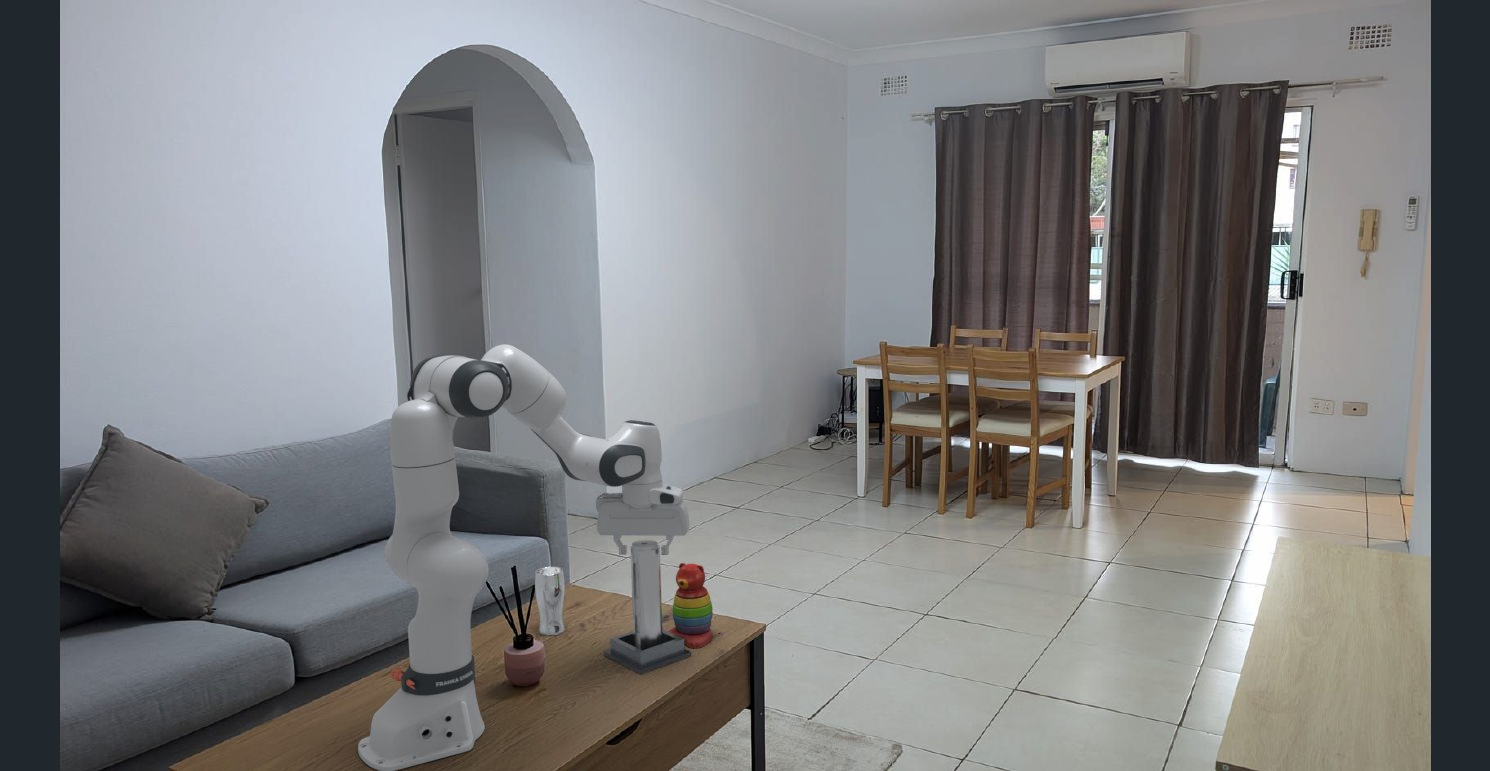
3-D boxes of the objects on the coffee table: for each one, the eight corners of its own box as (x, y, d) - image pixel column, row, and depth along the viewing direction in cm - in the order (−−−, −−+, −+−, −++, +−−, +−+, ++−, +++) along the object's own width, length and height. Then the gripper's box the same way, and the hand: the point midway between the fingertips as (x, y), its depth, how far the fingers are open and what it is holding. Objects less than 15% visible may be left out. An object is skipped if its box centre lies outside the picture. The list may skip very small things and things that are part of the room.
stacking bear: (660, 640, 227) (658, 566, 224) (687, 626, 235) (685, 555, 232) (697, 650, 220) (695, 574, 218) (723, 635, 229) (721, 562, 226)
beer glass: (535, 627, 236) (533, 568, 234) (564, 624, 238) (562, 564, 236) (538, 638, 229) (535, 576, 227) (568, 634, 231) (565, 573, 229)
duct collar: (640, 674, 208) (639, 656, 207) (603, 655, 218) (603, 638, 218) (691, 656, 217) (690, 639, 217) (654, 638, 227) (653, 622, 227)
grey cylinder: (666, 653, 216) (662, 544, 213) (637, 657, 214) (633, 548, 211) (659, 642, 222) (655, 536, 219) (631, 646, 220) (627, 540, 217)
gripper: (592, 496, 210) (594, 558, 212) (686, 496, 209) (687, 558, 211) (598, 489, 217) (600, 549, 218) (689, 489, 215) (690, 550, 217)
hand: (644, 554), depth 215 cm, fingers open, 8 cm apart
